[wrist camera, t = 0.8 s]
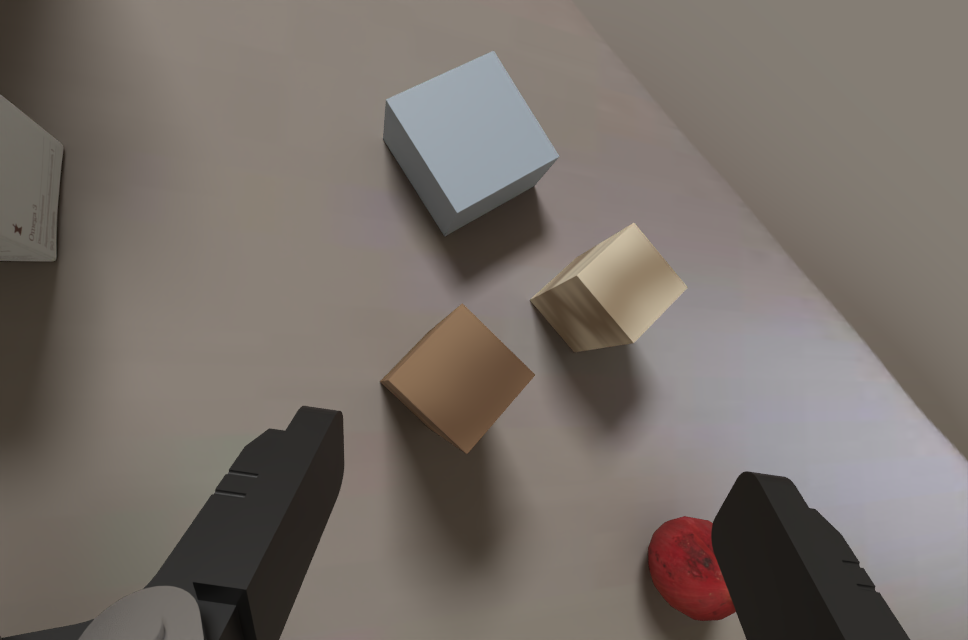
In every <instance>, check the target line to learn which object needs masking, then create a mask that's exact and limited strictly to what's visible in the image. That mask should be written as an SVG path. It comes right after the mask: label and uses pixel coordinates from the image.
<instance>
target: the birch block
mask: <svg viewBox="0 0 968 640" xmlns="http://www.w3.org/2000/svg"><path fill="white" fill-rule="evenodd" d="M687 288H688V287H687V286H686V285H685V284H684V283H683V281H682V280H681V279H680V278H679V277H678V275H677V274H676V273H675V272H674V270H673V269H672V268H671V267H670V266H669V264H668V263H667V262H666V261H665V260H664V258H663V257H662V256H661V255H660V253H659V252H658V251H657V250H656V249H655V247H654V246H653V245H652V244H651V243H650V241H649V240H648V239H647V238H646V237H645V235H644V234H643V233H642V232H641V230H640V229H639V228H638V227H637V226H636V224H635V223H633V224H631V225H629V226H628V227H626V228H625V229H623V230H621V231H620V232H618V233H616V234H615V235H613V236H611V237H610V238H608V239H606V240H605V241H603V242H601V243H600V244H598V245H597V246H595V247H593V248H592V249H590V250H588V251H587V252H585V253H583V254H582V255H580V256H578V257H577V258H576V259H574V260H573V261H572V262H571V263H570V264H569V265H568V266H567V267H566V268H565V269H563V270H562V271H561V272H560V273H559V274H558V275H557V276H556V277H555V278H553V279H552V280H551V281H550V282H549V283H548V284H547V285H546V286H545V287H544V288H542V289H541V290H540V291H539V292H538V293H537V294H536V295H535V296H534V297H533V298H531V299H530V301H531V302H532V303H533V304H534V306H535V307H536V308H537V309H538V310H539V311H540V313H541V314H542V315H543V316H544V317H545V319H546V320H547V321H548V322H549V323H550V324H551V326H552V327H553V328H554V329H555V330H556V331H557V333H558V334H559V335H560V336H561V337H562V338H563V340H564V341H565V342H566V343H567V344H568V346H569V347H570V348H571V349H572V350H573V351H574V352H580V351H587V350H593V349H599V348H606V347H612V346H618V345H625V344H631V343H634V342H635V341H636V340H637V339H638V338H639V337H640V336H641V335H642V334H643V333H644V332H645V331H646V330H647V329H648V328H649V327H650V326H651V325H652V324H653V323H654V322H655V321H656V320H657V319H658V318H659V317H660V316H661V315H662V314H663V313H664V312H665V311H666V310H667V308H668V307H669V306H670V305H671V304H672V303H673V302H674V301H675V300H676V299H677V298H678V297H679V296H680V295H681V294H682V293H683V292H684V291H685V290H686V289H687Z"/></svg>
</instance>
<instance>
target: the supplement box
mask: <svg viewBox="0 0 968 640" xmlns="http://www.w3.org/2000/svg"><path fill="white" fill-rule="evenodd" d="M63 149H64V146H63V144H61V143H60V142H59V141H58V140H57V139H55V138H54V137H53V136H52V135H50V134H49V133H48V132H47V131H46V130H44V129H43V128H42V127H41V126H39V125H38V124H37V123H36V122H34V121H33V120H32V119H31V118H29V117H28V116H27V115H26V114H24V113H23V112H22V111H21V110H20V109H18V108H17V107H16V106H15V105H13V104H12V103H11V102H9V101H8V100H7V99H6V98H4V97H3V96H2V95H1V94H0V261H55V260H56V258H57V253H56V236H57V211H58V198H59V187H60V175H61V165H62V157H63Z"/></svg>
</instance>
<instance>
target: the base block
mask: <svg viewBox="0 0 968 640" xmlns="http://www.w3.org/2000/svg"><path fill="white" fill-rule="evenodd" d="M383 140H384V141H385V143H386V144H387V146H388V147H389V149H390V151H391V152H392V154H393V155H394V157H395V159H396V160H397V162H398V163H399V165H400V167H401V168H402V170H403V171H404V173H405V174H406V176H407V178H408V179H409V181H410V182H411V184H412V186H413V187H414V189H415V190H416V192H417V194H418V195H419V197H420V198H421V200H422V201H423V203H424V205H425V206H426V208H427V209H428V211H429V213H430V214H431V216H432V217H433V219H434V221H435V222H436V224H437V225H438V227H439V228H440V230H441V232H442V233H443V235H444V236H447V235H448V234H450V233H452V232H454V231H455V230H457V229H459V228H461V227H463V226H464V225H466V224H468V223H470V222H471V221H473V220H475V219H477V218H479V217H480V216H482V215H484V214H486V213H487V212H489V211H491V210H493V209H494V208H496V207H498V206H500V205H502V204H503V203H505V202H507V201H509V200H510V199H512V198H514V197H516V196H518V195H519V194H521V193H523V192H525V191H526V190H528V189H530V188H532V187H534V186H535V185H536V184H537V182H538V181H539V180H540V179H541V178H542V176H543V175H544V174H545V173H546V172H547V171H548V169H549V168H550V167H551V166H552V165H553V164H554V162H555V161H556V160H557V159H558V158H559V155H558V153H557V152H556V150H555V149H554V147H553V145H552V144H551V142H550V141H549V139H548V137H547V136H546V134H545V133H544V131H543V129H542V128H541V126H540V125H539V123H538V121H537V120H536V118H535V116H534V115H533V113H532V112H531V110H530V108H529V107H528V105H527V104H526V102H525V100H524V99H523V97H522V96H521V94H520V92H519V91H518V89H517V88H516V86H515V84H514V83H513V81H512V79H511V78H510V76H509V75H508V73H507V71H506V70H505V68H504V67H503V65H502V63H501V62H500V60H499V59H498V57H497V55H496V54H495V52H494V51H492V52H490V53H488V54H485V55H483V56H481V57H479V58H477V59H474V60H472V61H470V62H468V63H466V64H463V65H461V66H459V67H457V68H455V69H452V70H450V71H448V72H446V73H444V74H441V75H439V76H437V77H435V78H432V79H430V80H428V81H426V82H424V83H421V84H419V85H417V86H415V87H413V88H410V89H408V90H406V91H404V92H402V93H399V94H397V95H395V96H393V97H391V98H388V99H386V106H385V120H384V134H383Z"/></svg>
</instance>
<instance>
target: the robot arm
mask: <svg viewBox="0 0 968 640" xmlns="http://www.w3.org/2000/svg"><path fill="white" fill-rule="evenodd" d="M343 473H344V435H343V415H342V412H341V411H336V410H329V409H322V408H315V407H309V406H302V407H301V408H300V409H299V410H298V411H297V413H296V415H295V416H294V418H293V419H292V421H291V423H290V424H289V426H288V427H287V429H286V431H283V430H276V429H268V430H267V431H265V432H264V433H263V434H261V435H260V436H259V437H257V438H256V439H254V440H253V441H252V442H250V443H249V444H248V445H246V446H245V447H244V449H243V450H242V452H241V453H240V455H239V456H238V457H237V459H236V460H235V462H234V463H233V465H232V466H231V467H230V469H229V473H228V474H226V475H225V476H224V478H223V479H222V480H221V482H220V483H219V485H218V486H217V488H216V490H215V493H214V495H213V494H212V495H211V496H210V498H209V499H208V501H207V502H206V504H205V505H204V506H203V508H202V509H201V511H200V512H199V514H198V515H197V517H196V518H195V519H194V521H193V522H192V524H191V525H190V527H189V528H188V530H187V531H186V532H185V534H184V535H183V537H182V538H181V540H180V541H179V543H178V544H177V545H176V547H175V548H174V550H173V551H172V553H171V554H170V555H169V557H168V558H167V560H166V561H165V563H164V564H163V566H162V567H161V568H160V570H159V571H158V573H157V574H156V575H155V577H154V578H153V579H152V580H151V581H150V582H149V583H148V584H147V586H146V587H145V588H144V589H142V590H139V591H136V592H134V593H132V594H130V595H128V596H125V597H124V598H122V599H120V600H118V601H117V602H115V603H114V604H112V605H111V606H109V607H108V608H107V609H105V610H104V611H103V612H102V613H101V614H100V615H99V616H97V617H96V618H95V619H92V620H90V621H87V622H83V623H79V624H75V625H70V626H64V627H59V628H53V629H48V630H43V631H37V632H32V633H26V634H21V635H15V636H10V637H5V638H1V637H0V640H279V638H280V636H281V634H282V631H283V629H284V626H285V624H286V621H287V619H288V616H289V614H290V612H291V609H292V607H293V604H294V602H295V599H296V597H297V595H298V592H299V590H300V587H301V585H302V582H303V580H304V577H305V575H306V573H307V570H308V568H309V565H310V563H311V560H312V558H313V556H314V553H315V551H316V548H317V546H318V543H319V541H320V538H321V536H322V534H323V531H324V529H325V526H326V524H327V521H328V519H329V517H330V514H331V512H332V509H333V507H334V504H335V502H336V499H337V497H338V494H339V491H340V488H341V484H342V479H343ZM711 541H712V547H713V551H714V554H715V557H716V560H717V562H718V565H719V568H720V570H721V573H722V576H723V578H724V581H725V584H726V586H727V589H728V591H729V594H730V597H731V599H732V602H733V605H734V607H735V610H736V613H737V615H738V618H739V621H740V623H741V626H742V628H743V631H744V634H745V636H746V639H747V640H910V639H909V637H908V636H907V634H906V633H905V631H904V629H903V628H902V626H901V625H900V623H899V622H898V620H897V619H896V617H895V616H894V614H893V613H892V611H891V610H890V608H889V607H888V605H887V603H886V602H885V600H884V599H883V597H882V596H881V594H880V593H878V592H876V591H875V585H874V584H873V582H872V581H871V579H870V577H869V576H868V574H867V573H866V571H865V570H864V568H860V566H859V563H860V562H859V561H858V559H857V558H856V556H855V555H854V553H853V551H852V550H851V548H850V547H849V545H848V544H847V542H846V541H845V539H844V538H843V536H842V535H841V534H840V533H839V532H838V531H837V530H836V529H835V528H834V527H833V526H832V525H831V524H830V523H829V522H828V521H827V520H826V519H825V518H824V517H823V516H822V515H821V514H820V513H819V512H818V511H817V510H816V509H811V508H809V507H808V505H807V504H806V502H805V501H804V499H803V497H802V496H801V494H800V493H799V491H798V489H797V488H796V486H795V485H794V483H793V482H792V481H791V480H790V479H788V478H786V477H782V476H775V475H768V474H761V473H754V472H743V473H741V474H740V475H739V477H738V478H737V480H736V482H735V483H734V485H733V487H732V489H731V491H730V492H729V494H728V496H727V498H726V499H725V501H724V503H723V505H722V506H721V508H720V510H719V512H718V514H717V515H716V517H715V519H714V521H713V525H712V531H711Z"/></svg>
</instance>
